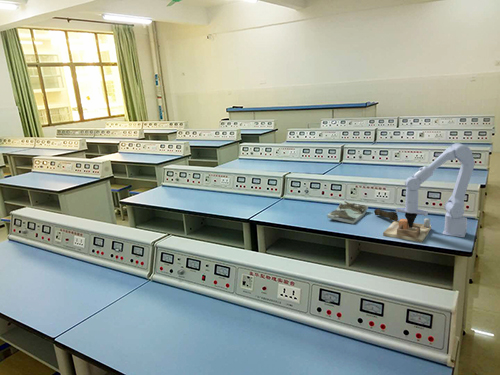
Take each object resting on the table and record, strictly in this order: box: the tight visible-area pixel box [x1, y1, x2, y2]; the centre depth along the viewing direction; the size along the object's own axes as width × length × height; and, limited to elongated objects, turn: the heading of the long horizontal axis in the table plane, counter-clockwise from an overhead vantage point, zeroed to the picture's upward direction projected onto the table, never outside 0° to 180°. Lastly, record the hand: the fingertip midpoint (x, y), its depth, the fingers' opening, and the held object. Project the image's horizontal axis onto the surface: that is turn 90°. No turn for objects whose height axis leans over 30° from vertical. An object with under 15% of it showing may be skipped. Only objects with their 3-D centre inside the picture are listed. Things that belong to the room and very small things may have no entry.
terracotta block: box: [398, 218, 409, 229], centre depth 188 cm, size 4×4×4 cm
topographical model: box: [326, 200, 369, 225], centre depth 217 cm, size 26×15×5 cm, turn 145°
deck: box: [382, 220, 432, 243], centre depth 186 cm, size 18×20×5 cm
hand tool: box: [373, 208, 399, 222], centre depth 205 cm, size 19×4×5 cm, turn 12°
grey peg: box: [423, 217, 431, 228], centre depth 187 cm, size 3×3×4 cm
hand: (410, 227), depth 186 cm, fingers closed
